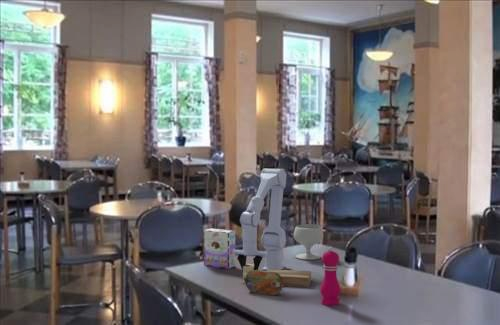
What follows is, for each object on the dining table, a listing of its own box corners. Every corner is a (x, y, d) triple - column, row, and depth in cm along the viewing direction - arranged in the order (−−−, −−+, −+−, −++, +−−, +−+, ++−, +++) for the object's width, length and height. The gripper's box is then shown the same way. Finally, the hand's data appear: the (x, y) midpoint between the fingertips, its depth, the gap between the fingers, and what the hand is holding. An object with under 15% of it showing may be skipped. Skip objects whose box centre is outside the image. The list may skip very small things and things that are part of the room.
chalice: (328, 257, 271) (328, 226, 270) (311, 262, 261) (311, 230, 260) (304, 253, 280) (305, 222, 280) (287, 257, 270) (287, 226, 269)
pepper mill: (327, 307, 195) (328, 250, 194) (316, 301, 202) (316, 246, 200) (344, 304, 199) (345, 247, 197) (332, 298, 205) (333, 244, 204)
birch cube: (246, 275, 236) (246, 263, 236) (257, 276, 234) (257, 264, 234) (242, 278, 232) (242, 266, 231) (253, 279, 230) (253, 267, 230)
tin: (244, 291, 215) (244, 269, 215) (248, 289, 218) (248, 267, 217) (280, 296, 208) (280, 274, 208) (284, 294, 211) (284, 272, 210)
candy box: (236, 266, 253) (236, 230, 252) (228, 269, 248) (228, 232, 247) (211, 263, 260) (210, 227, 259) (203, 265, 255) (203, 229, 254)
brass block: (267, 278, 234) (267, 269, 234) (311, 281, 231) (311, 271, 230) (263, 285, 224) (263, 275, 224) (308, 287, 221) (308, 277, 220)
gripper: (229, 241, 231) (229, 274, 232) (263, 243, 226) (263, 277, 227) (236, 238, 237) (236, 270, 238) (269, 240, 232) (269, 273, 233)
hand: (250, 273), depth 233 cm, fingers closed on birch cube, 4 cm apart
